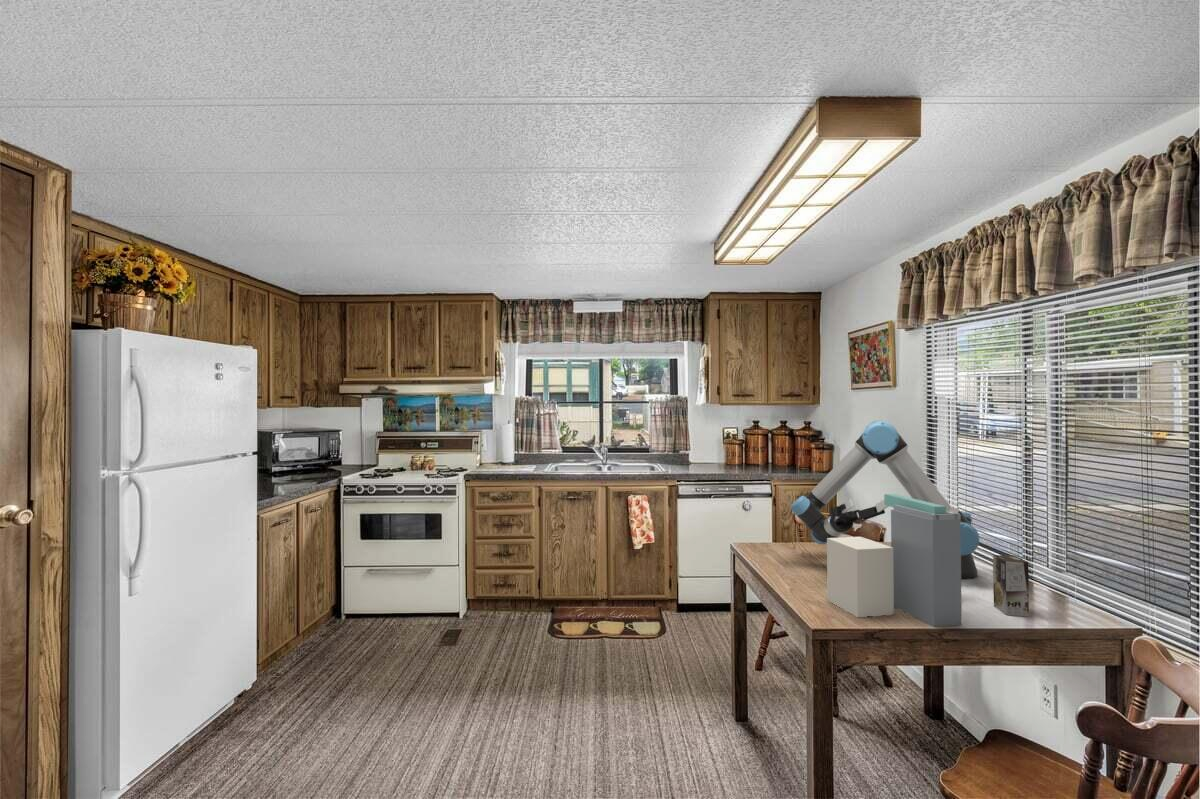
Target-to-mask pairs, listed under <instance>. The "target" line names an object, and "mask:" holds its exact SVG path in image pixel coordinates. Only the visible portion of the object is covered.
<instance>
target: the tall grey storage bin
mask: <svg viewBox="0 0 1200 799" xmlns="http://www.w3.org/2000/svg"><path fill="white" fill-rule="evenodd" d="M890 532H891V533H890V541H891V542H890V544H891V545H890V547H893V573H894V607H895V608H894V609H896V608H897V609H896V610H898V609H900V610H902V611H904V612H905V613H904V612H903V613H904V614H906V613H908V614H910V615H912V616H914V617H913V618H915V617H916V618H915V619H917V618H918V619H917V620H919V619H920V620H919V621H921V622H923V623H925V624H927V625H929V626H931V627H933V628H936V627H937V628H940V627H948V626H949V627H950V626H962V623H963V622H962V618H963V617H962V614H963V613H962V578H961V514H959V513H951V512H947V511H946V514H934V513H929V512H925V511H921V510H917V509H912V508H908V507H904V506H900V505H894V507H893V509H890ZM900 610H899V611H900ZM902 611H901V612H902ZM908 614H907V615H908ZM910 615H909V616H910ZM912 616H911V617H912Z"/></svg>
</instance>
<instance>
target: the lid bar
mask: <svg viewBox="0 0 1200 799" xmlns="http://www.w3.org/2000/svg"><path fill="white" fill-rule="evenodd" d="M883 497H884V499H883V500H884V505H887V506H889V507H891V508H894V505H900V506H904V507H908V508H912V509H917V510H921V511H925V512H929V513H934V514H946V506H942V505H938V504H934V503H930V502H926V501H921V500H917V499H913V498H912V497H908V496H904V495H901V494H897V493H886V494H885V493H884V494H883Z"/></svg>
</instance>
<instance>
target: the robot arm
mask: <svg viewBox="0 0 1200 799" xmlns="http://www.w3.org/2000/svg"><path fill="white" fill-rule="evenodd" d="M863 429H864V430H863V432H862V434H861V435H860V436H859V437H858V438H857V440H856V441H854V447H852V448H851V449H850V450H849V452H847V454H845V455H844V457H843V458H842V459H841V460H840V461H839V462H838V463H837V464H835V466H834V467H833V468H832V469H831V470H830V471H829V472H828V474H826V475H825V477H824V478H822V480H820V481H819V483H817V485H816V486H814V488H813V489H812V490H811V491H810V492H809V493H808V494H807V495H806V496H805V495H801V496H799V497H798V498H797V499H796V500H795V501H793V503H792V504H791V505H790V507H789V508H790V510H791V511H792V512H793V513H794V515H795V516H796V517H798V518H799V519H800V520H801V522H803V524H804V525H806V526H807V528H808V529H809V530H810V531H811V532H810V535H811V538H812V540H813V542H815V543H816V544H817V545H827V538H840V536H841V535H842V534H845V533H846V532H848V531H849V530H850V529H852V528H853V526H854V523H856V522H858V521H860V522H865V521H867V520H869V519H873V518H875V517H878V516H881V515H884V514H886V511H885V510H886V509H887V508H888V507H890V506H887V505H884V499H882V500H881V501H879V502H878V503H876V504H875V505H874V506H871V507H868V508H864V509H856V510H850V509H852V508H854V503H853V499H852V498H848V499H847V500H846V501H844V502H843V503H841V504H839V505H837V506H835V507H834V506H830V508H829V514H828V515H827V517H826V515H824V514H823V513H822V509H823V508H824V507H825V506H826V505H827V504H828V503H829V502H830V501H831V500H832V499H833V498H834V497H835V496H836V495H837V494H838V493H839V492H840V490H842V489H843V488H844V487H845V486H846V485H847V484H848V483H849V482H850V481H851V480H852V479H853V478H854V477H855V476H856V475H857V474H858V473H859V472H860V471H861V470H862V469H863V468H864V467H865V465H867V464H868V463H869V461H871V460H875V459H876V460H877V462H878V463H879V464H883V465H886V466H887V468H888V469H889V470H890V471H891V473H892V474H893V475H894V477H895V478H896V479H897V481H898V482H899V483H900V485H901V486H902V487H903V488H904V489H905V490H906V492H907V493H908V494H909V496H910V498H913V499H917V500H921V501H926V502H930V503H934V504H938V505H942V506H946V511H947V512H951V513H959V514H961V579H967V580H968V579H975V578H977V577H978V568H977V566H976V563H975V560H974V557H973V553H974V552H975V551H976V550H977V549H978V547H979V545H980V534H979V531H978V529H976V528H975V527H974V526H973V525H972V522H973V519H972V515H971V513H970V512H966V511H965V512H964V511H961V510H960V509H959V508H955V507H952V506H951V505H950V504H949V502H948V501H947V500H946V499H945V497H944V495H942V493H941V492H940V491H939V490H938V488H937V487H936V486H935V485H934V483H933V482H932V481H931V479H930V478H929V477H928V476H927V474H926V473H925V472H924V471H923V469H922V468H921V467H920V465H919V464H918V463H917V462H916V461H915V459H914V458H913V457H912V456H911V455H910V453H909V452H908V447H909V445H908V444H907V442H906V441H905V440H904V438H903V437H902V436H901V435H900V434H899V432H898V430H897V429H896V427H895V426H893V424H891V423H890V422H887V421H884V420H876V421H872V422H870V423H869V424H868V425H866V426H865V428H863ZM849 510H850V511H849Z"/></svg>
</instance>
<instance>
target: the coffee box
mask: <svg viewBox="0 0 1200 799" xmlns="http://www.w3.org/2000/svg"><path fill="white" fill-rule="evenodd" d="M1029 577H1030V576H1029V562H1028V561H1026V560H1024V559H1022V558H1020V557H1018V556H1016V555H1012V554H1010V555H1009V554H999V555H998V554H992V581H993V582H992V584H993V585H992V586H993V587H992V588H993V607H995V608H996V609H997V610H999V611H1000V612H1001V613H1003V614H1005V615H1006V616H1017V617H1029V616H1030V613H1029V612H1030V608H1029V607H1030V600H1029V598H1030V597H1029V596H1030V595H1029V594H1030V590H1029V589H1030V588H1029V587H1030V586H1029V582H1030V581H1029Z"/></svg>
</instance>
